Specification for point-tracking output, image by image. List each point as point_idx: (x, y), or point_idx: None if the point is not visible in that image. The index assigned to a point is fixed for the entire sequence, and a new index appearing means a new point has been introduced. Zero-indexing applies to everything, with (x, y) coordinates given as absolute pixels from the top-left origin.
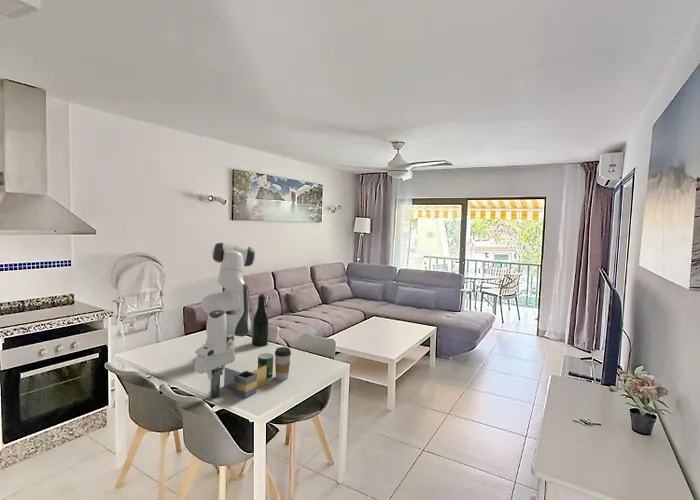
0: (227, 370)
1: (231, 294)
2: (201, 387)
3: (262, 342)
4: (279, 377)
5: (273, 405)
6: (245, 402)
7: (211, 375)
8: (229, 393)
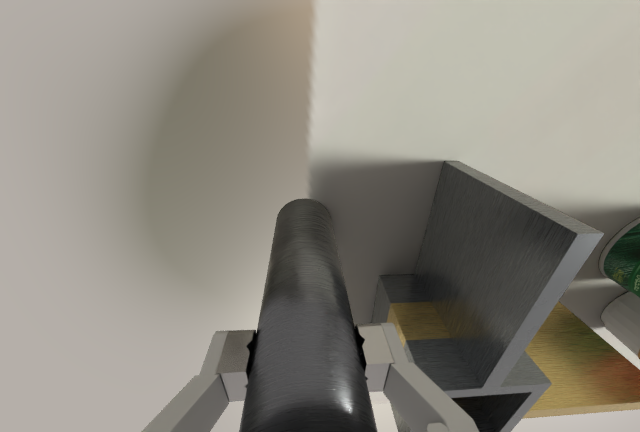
0: (538, 266)
1: None
2: (350, 13)
3: None
4: (613, 325)
5: (375, 401)
6: None
7: (221, 404)
8: (376, 254)
